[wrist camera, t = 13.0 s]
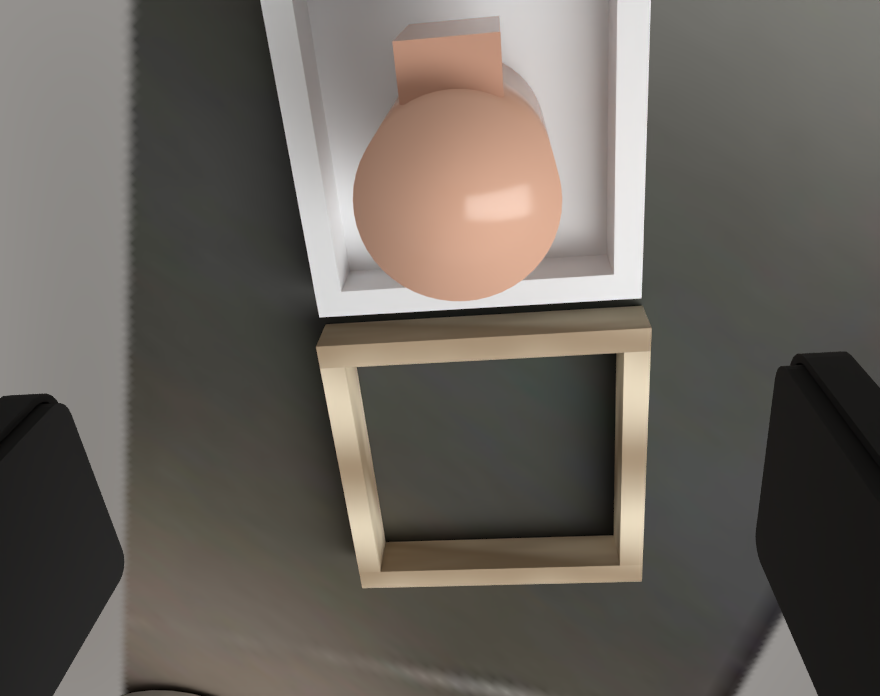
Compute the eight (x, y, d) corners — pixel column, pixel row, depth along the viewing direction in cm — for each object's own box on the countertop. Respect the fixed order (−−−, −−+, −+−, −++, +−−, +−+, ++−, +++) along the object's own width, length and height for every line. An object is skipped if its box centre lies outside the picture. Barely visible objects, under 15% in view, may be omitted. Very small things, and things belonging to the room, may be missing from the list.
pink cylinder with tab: (546, 206, 28) (564, 295, 21) (398, 217, 29) (367, 306, 22) (541, 5, 25) (559, 32, 18) (374, 20, 26) (329, 52, 19)
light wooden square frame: (634, 550, 37) (641, 581, 35) (368, 557, 38) (362, 588, 36) (642, 305, 31) (651, 328, 29) (325, 324, 32) (316, 346, 30)
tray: (630, 271, 30) (641, 298, 28) (331, 290, 31) (319, 317, 29) (638, -76, 24) (653, -77, 22) (274, -37, 26) (253, -35, 23)
